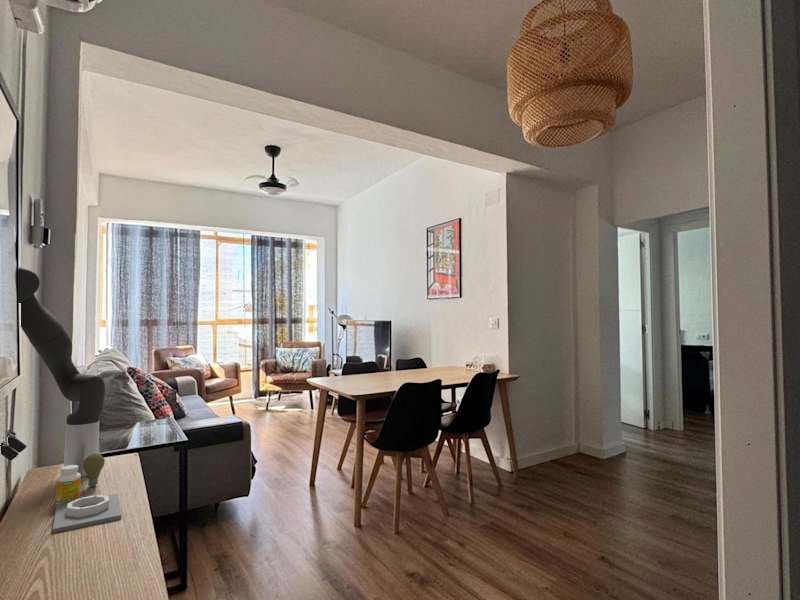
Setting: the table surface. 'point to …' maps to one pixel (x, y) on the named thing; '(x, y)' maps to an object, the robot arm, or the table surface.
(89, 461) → the light bulb
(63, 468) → the supplement bottle
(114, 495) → the collar plate
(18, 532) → the table surface
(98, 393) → the robot arm
